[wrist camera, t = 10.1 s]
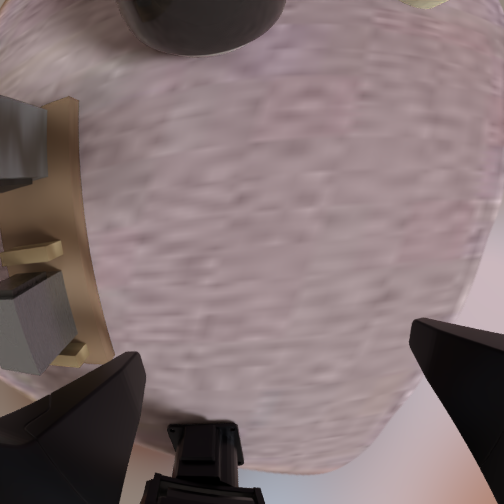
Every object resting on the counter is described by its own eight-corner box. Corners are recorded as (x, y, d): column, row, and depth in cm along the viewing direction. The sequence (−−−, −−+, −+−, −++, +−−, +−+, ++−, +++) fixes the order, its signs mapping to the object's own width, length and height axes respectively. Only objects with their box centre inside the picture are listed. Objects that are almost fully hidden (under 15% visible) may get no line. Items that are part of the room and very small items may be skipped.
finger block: (78, 333, 19) (40, 375, 13) (41, 332, 19) (1, 368, 13) (60, 265, 18) (11, 292, 12) (23, 268, 18) (-26, 293, 12)
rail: (114, 354, 21) (79, 413, 14) (43, 351, 21) (1, 396, 14) (78, 100, 17) (20, 73, 10) (6, 128, 17) (-54, 120, 9)
